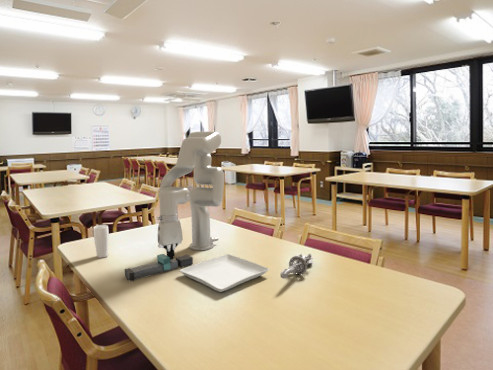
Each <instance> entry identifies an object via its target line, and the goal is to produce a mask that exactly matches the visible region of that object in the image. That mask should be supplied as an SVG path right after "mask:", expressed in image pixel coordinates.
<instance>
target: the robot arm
mask: <svg viewBox="0 0 493 370" xmlns="http://www.w3.org/2000/svg"><path fill="white" fill-rule="evenodd" d="M221 144H222V136H221V134H220V133H219V132H217V131H193V132H190V133H189V135H187V137H186V138H184V139H183V140H182V143H181V145H180V149H179V152H178V157H177V160H176V163H175V165H174V166H172V168H170V169H169V170H168V171H167V172H166V173H165V174H164V176H163V177H162V180H161V183H160V185H159V190H158V199H159V216H157V218H156V220H157V221H159V222H158V226H157V243H158V245H157V247H158V248H159V249H164V250H165V251H166V256H168V257H170V260H172V259H175V250H176V248H177V247H178V246H179V245H181V244H182V243H183V229H182V224H181V220H180V219H179V214H178V213H179V212H178V211H179V210H178V205H185V204H186V203H189V206H190V214H191V215H190V217H191V243H190V244H189V245H188V247H189V249H191V250H193V251H206V250H207V251H208V250H211V249H212V248H214V242H216V241H217V242H218V241H219V237H217V236H216V237H214V236H211V215H210V214H211V213H210V211H209V208H208V207H212V208H213V207H214V208H217V207H219V206H221V205H222V203H223V199H224V187H225V173H224V170H223V169H222V168H221V167H219V166H212V160H213V159H212V156H211V155H212V153H214V151H216V150H217V149H218V148H219V147H220V146H221ZM192 172H193V181H194V183H195V184H197V185H200V187H199V186H198V187H197V186H196V187H193V188H191V189H190V190H189V188H187V187H185V186H184V187H182V186H173V183H175V181H176V180H177V179H180V178H181V177H184V176H185V175H188V174H190V173H192ZM202 186H212V187H202Z"/></svg>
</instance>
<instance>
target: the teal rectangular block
mask: <svg viewBox="0 0 493 370" xmlns="http://www.w3.org/2000/svg"><path fill="white" fill-rule="evenodd" d="M156 257H157V259H156V260H157V261H156V262H160V263H162V264H163V268H164V270H168V269H171V267H170V257H168V256H167V254H165V253H162V254H158V255H157V256H156Z"/></svg>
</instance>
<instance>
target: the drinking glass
mask: <svg viewBox="0 0 493 370" xmlns="http://www.w3.org/2000/svg"><path fill="white" fill-rule="evenodd" d="M92 229H93V231H92V232H93V233H92V234H93V240H94V241H93V242H94V245H95V246H94V247H95V251H96V252H95V253H96V257H97V258H99V259H104V258H106V257H108V256H109V242H110V241H109V236H110V234H109V232H110V231H109V225H107V224H97V225H95V226H93V228H92Z"/></svg>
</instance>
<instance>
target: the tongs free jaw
mask: <svg viewBox="0 0 493 370" xmlns="http://www.w3.org/2000/svg"><path fill="white" fill-rule="evenodd" d="M172 260H176V259H175V258H174V259H172ZM172 260H170V261H172ZM156 264H160V262H157V261H156V262H152V263H147V264H143V265H139V266H134V267H131V268H130V267H128V268H125V269H124V277H125V278H126V279H127V271H130V270H135V269H140V268H144V267H148V266H152V265H156Z"/></svg>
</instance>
